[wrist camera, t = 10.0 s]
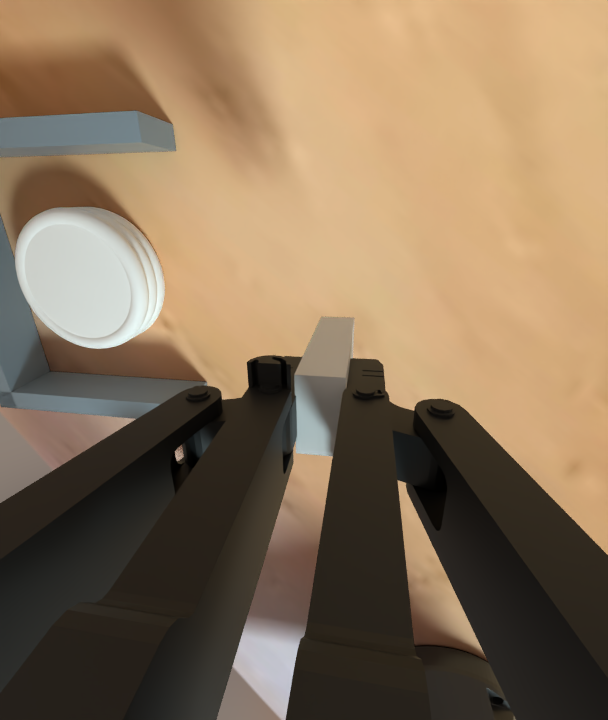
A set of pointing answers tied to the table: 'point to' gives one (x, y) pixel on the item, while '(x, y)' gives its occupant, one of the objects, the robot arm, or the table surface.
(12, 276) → the box
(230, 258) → the table surface
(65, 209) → the white round container
